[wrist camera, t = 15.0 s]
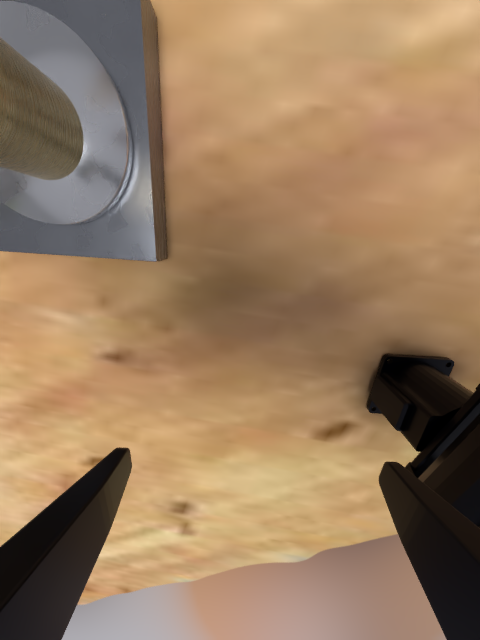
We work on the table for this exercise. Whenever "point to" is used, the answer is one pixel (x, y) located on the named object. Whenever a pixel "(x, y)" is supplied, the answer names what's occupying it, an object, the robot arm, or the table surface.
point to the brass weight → (35, 121)
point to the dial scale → (92, 132)
